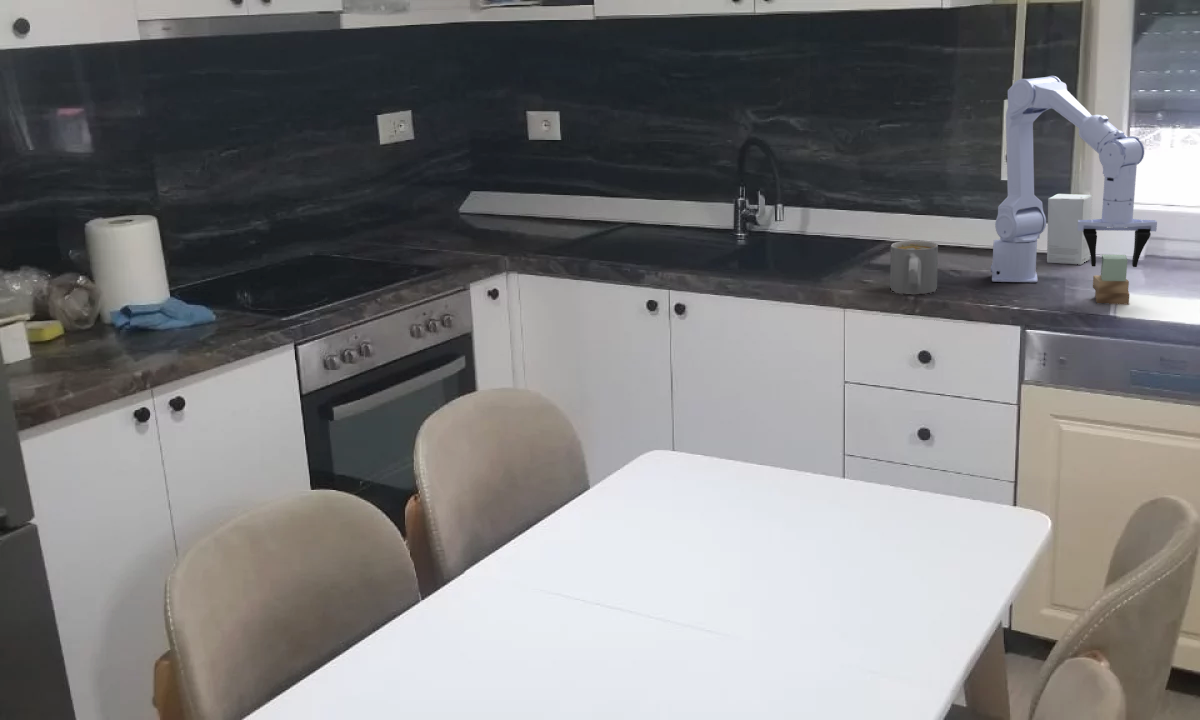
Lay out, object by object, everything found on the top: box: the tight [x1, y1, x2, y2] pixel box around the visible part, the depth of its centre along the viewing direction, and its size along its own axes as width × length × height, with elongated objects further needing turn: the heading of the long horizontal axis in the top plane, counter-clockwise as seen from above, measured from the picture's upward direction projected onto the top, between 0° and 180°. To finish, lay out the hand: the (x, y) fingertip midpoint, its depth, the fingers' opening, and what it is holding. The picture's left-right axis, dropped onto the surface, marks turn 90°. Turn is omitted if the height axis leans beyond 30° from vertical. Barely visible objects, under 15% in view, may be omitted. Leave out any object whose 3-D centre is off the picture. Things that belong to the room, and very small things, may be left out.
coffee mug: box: [889, 240, 939, 294], centre depth 256 cm, size 13×10×10 cm
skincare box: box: [1046, 193, 1093, 266], centre depth 274 cm, size 8×7×16 cm
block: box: [1100, 254, 1128, 281], centre depth 239 cm, size 4×4×4 cm
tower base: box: [1094, 290, 1130, 305], centre depth 241 cm, size 6×6×2 cm
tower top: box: [1092, 274, 1130, 294], centre depth 240 cm, size 6×6×2 cm
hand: (1113, 265), depth 239 cm, fingers open, 7 cm apart
